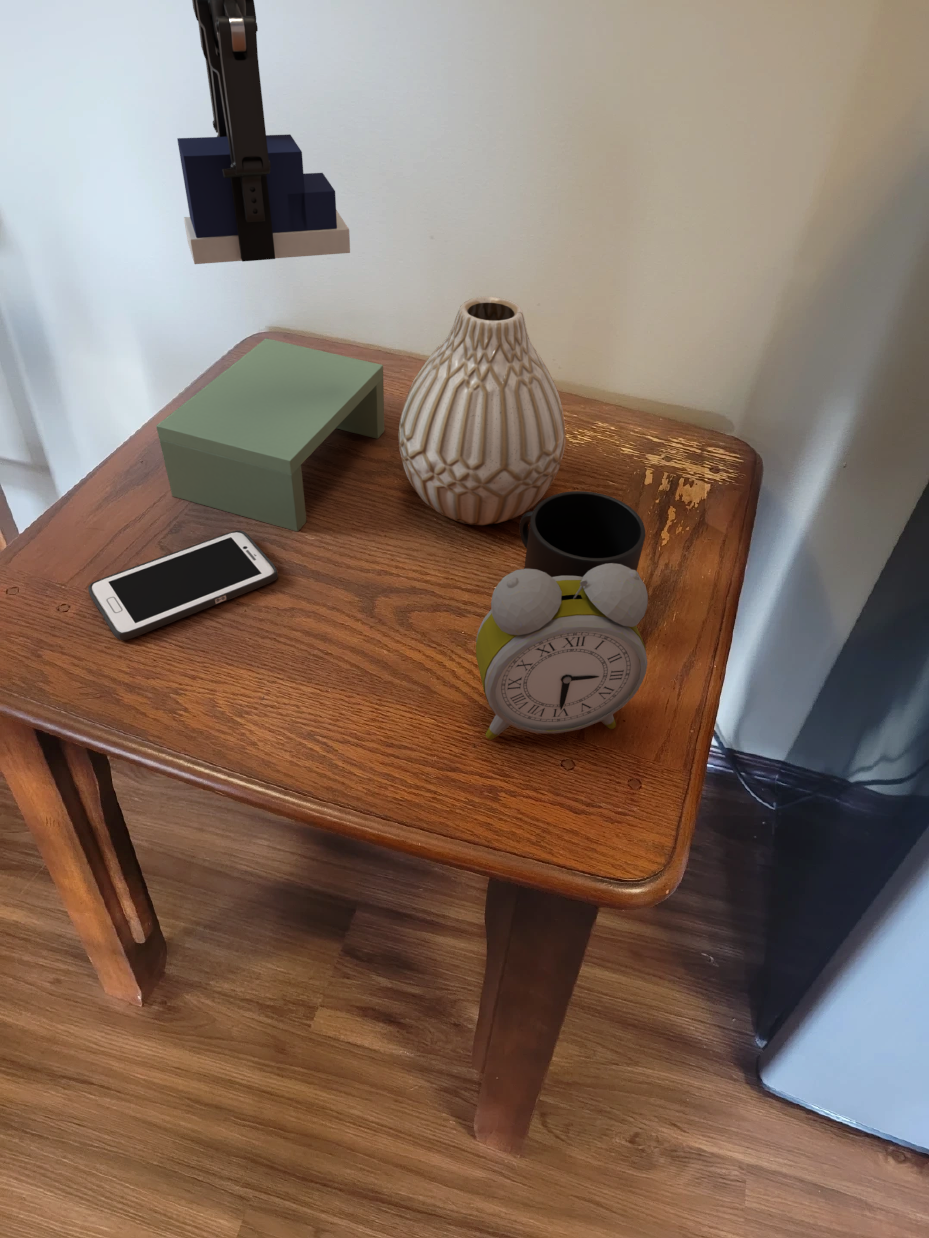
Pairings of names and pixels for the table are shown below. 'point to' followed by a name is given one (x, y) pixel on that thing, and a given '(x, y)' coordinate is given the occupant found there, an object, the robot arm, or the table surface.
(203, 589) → the cell phone
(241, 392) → the sage green footstool
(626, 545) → the mug
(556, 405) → the vase
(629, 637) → the alarm clock
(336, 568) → the table surface
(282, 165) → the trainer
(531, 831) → the table surface
